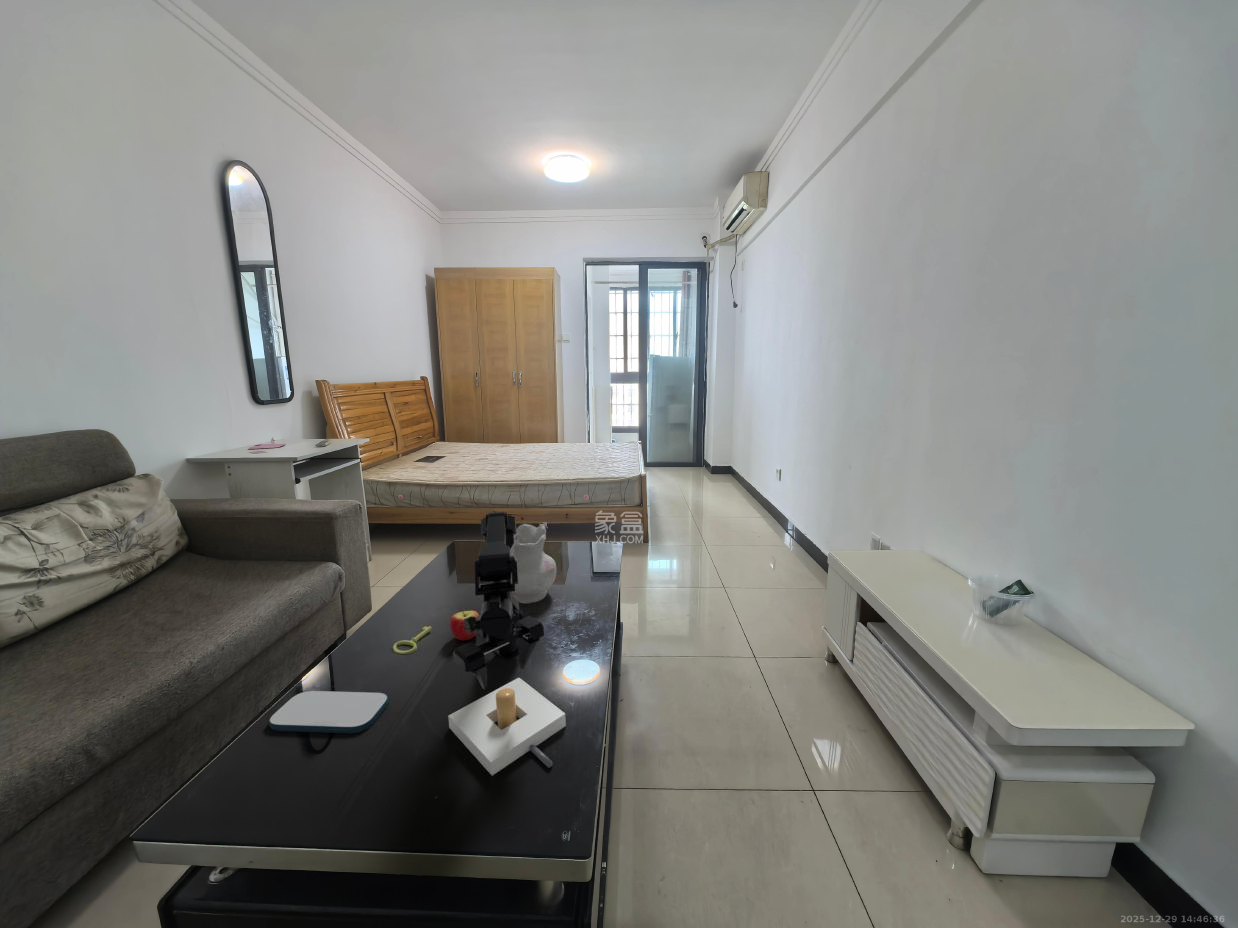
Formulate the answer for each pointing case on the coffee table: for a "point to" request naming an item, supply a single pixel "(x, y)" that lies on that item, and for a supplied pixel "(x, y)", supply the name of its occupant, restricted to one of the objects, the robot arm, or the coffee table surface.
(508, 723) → the tan peg
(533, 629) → the robot arm
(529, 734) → the grey board with hole
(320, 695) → the external hard drive
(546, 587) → the ceramic pitcher
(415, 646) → the key
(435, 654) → the coffee table surface
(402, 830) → the coffee table surface
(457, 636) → the apple
